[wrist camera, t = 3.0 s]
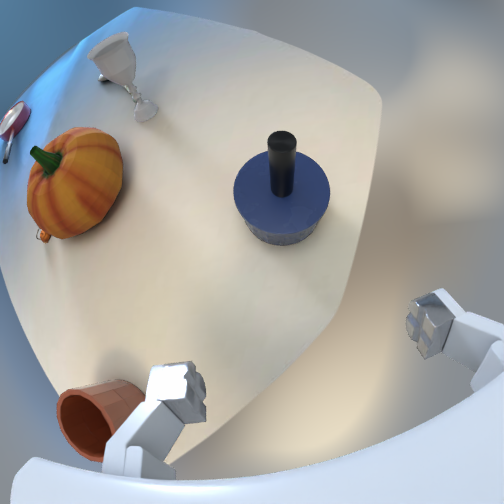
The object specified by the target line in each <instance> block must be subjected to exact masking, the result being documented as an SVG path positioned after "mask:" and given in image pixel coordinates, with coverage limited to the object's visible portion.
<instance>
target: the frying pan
mask: <svg viewBox="0 0 504 504" xmlns="http://www.w3.org/2000/svg"><path fill="white" fill-rule="evenodd" d="M30 112H31V110H30V108H29V106H28V105H27V104H26V103H25V102H24V101H20V102H18V103H17V104H16V105H14V106H13V107H12V108H11V109H10V110H9V112H8V113H7V114H6V115H5V117H4V118H3V120H2V121H1V123H0V138H1V139H3V140H4V141H6V142H7V141H9V142H8V144H7V147H6V151H5V155H4V159H3V163H4V164H6V163H8V159H9V155H10V151H11V146H12V140H13V138H14V137H15V136H16V135H17V134H18V133H19V131H20V130H21V129H22V128H23V126H24V125H25V123H26V121H27V120H28V118H29V115H30Z"/></svg>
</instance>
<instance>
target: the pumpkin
mask: <svg viewBox="0 0 504 504" xmlns="http://www.w3.org/2000/svg"><path fill="white" fill-rule="evenodd" d="M30 155H31V156H32V157H33V158H34V159H35V160H36V162H35V163H34V165H33V167H32V168H31V171H30V175H29V180H28V187H27V207H28V211H29V213H30V215H31V216H32V218H33V219H34V221H35V222H36V224H37V225H38V227H39V228H40V229H42V230H43V231H44V232H46V233H48V234H50V235H52V236H54V237H56V238H60V239H66V238H70V237H73V236H76V235H79V234H82V233H84V232H85V231H87V230H88V229H90V228H91V227H93V226H95V225H96V224H98V223H99V222H101V221H102V220H103V218H104V217H105V215H106V214H107V212H108V211H109V209H110V208H111V206H112V205H113V203H114V201H115V199H116V197H117V195H118V193H119V191H120V189H121V186H122V174H123V162H122V157H121V153H120V149H119V146H118V143H117V142H116V140H115V139H114V138H113V137H112V136H110V135H109V134H107V133H105V132H103V131H101V130H99V129H96V128H88V127H75V128H72V129H70V130H68V131H66V132H65V133H63V134H61V135H60V136H58V137H57V138H55V139H54V140H53V141H51V142H50V143H49V144H47V145H46V146H45V148H44V149H43V150H42V149H40V148H39V147H37V146H34V147H33V148H32V149H31V151H30Z"/></svg>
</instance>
